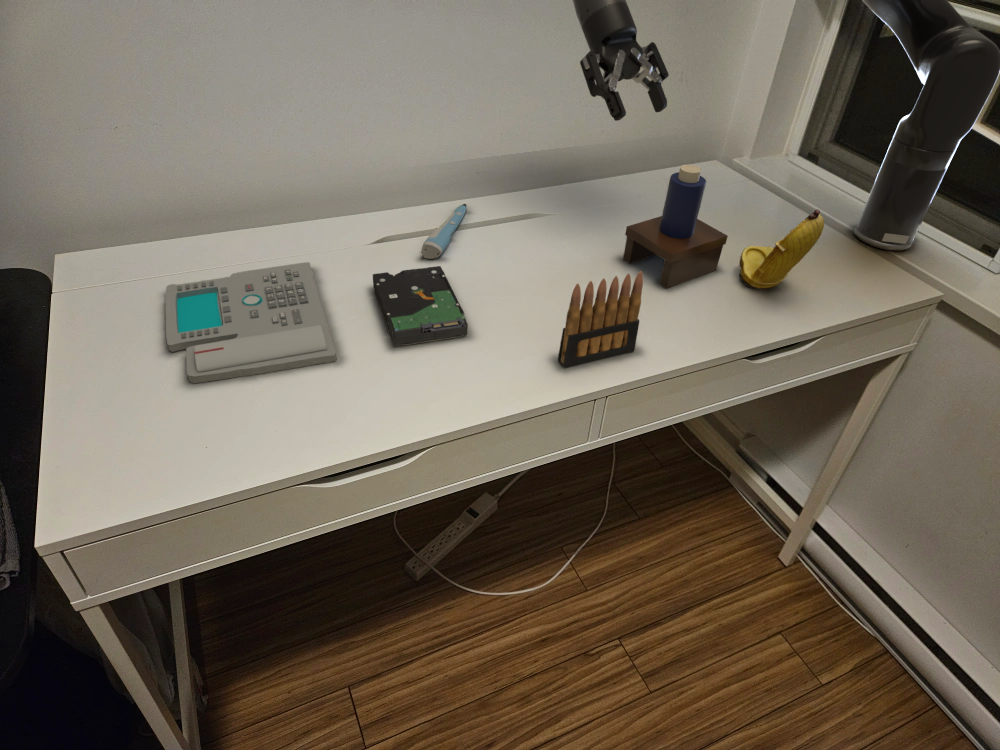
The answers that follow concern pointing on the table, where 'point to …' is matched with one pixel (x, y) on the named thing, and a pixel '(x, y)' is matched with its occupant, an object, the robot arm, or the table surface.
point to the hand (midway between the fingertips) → (641, 113)
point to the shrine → (779, 254)
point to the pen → (442, 234)
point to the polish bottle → (682, 202)
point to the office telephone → (248, 323)
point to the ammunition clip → (601, 322)
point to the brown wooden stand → (675, 250)
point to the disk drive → (419, 306)
